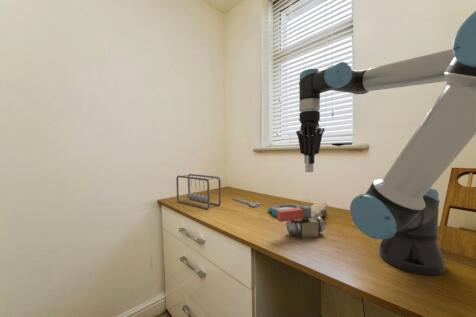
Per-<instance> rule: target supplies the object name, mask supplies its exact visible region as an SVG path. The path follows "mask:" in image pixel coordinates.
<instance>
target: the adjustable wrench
mask: <svg viewBox="0 0 476 317" xmlns="http://www.w3.org/2000/svg"><path fill="white" fill-rule="evenodd" d="M232 200H233V201H235V202H239V203H242V204H246V205H249V206H250V207H251V208H253V209H257V208H259V207H261V203H260V202H253V201H252V202H251V201H248V200H245V199H242V198H239V197H232Z"/></svg>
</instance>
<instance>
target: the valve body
mask: <svg viewBox="0 0 476 317" xmlns="http://www.w3.org/2000/svg"><path fill="white" fill-rule="evenodd" d="M285 226H286V230H287V233H288V234H289V235H290V236H296V235H297V236H298V237H299V238H300V239H302V240H305V239H312V238H319V233H323V232H324V231H325V228H326V227H325V226H326V225H325V221H324V219H323V218H322V217H320V216H317V217H314V218H310V219H298V220H290V221H286V225H285Z"/></svg>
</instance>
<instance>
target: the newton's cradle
mask: <svg viewBox="0 0 476 317" xmlns="http://www.w3.org/2000/svg"><path fill="white" fill-rule="evenodd" d="M175 178H176V180H175V181H176V201H177V203H180V204H182V205H183V204H184V205H186V204H188V205H187V206H190V205H192V207H194V206H196V207H195V208H198V207H199V208H198V209H202V208H203V210H206V209H208V210H209V209H211V208H212V207H216V206H217V207H220V205H221V204H222V197H221V196H222V194H221V193H222V191H221V189H222V185H221V178H220V177H219V176H214V175H206V174H205V175H204V174H203V175H202V174H194V173H189V174H184V175H177V176H176V177H175ZM179 178H180V179H181V178H183V179H187V180H186V181H187V188H188V190H187V191H188V192H187V195H186V198H187V199H185V200H180V199H179V198H180V197H179V196H180V193H179V190H180V189H179ZM213 179H217V180H218V203H216V202H211V201H210V199H211V198H210V181H209V180H213ZM191 180H195V181H198V187H199V191H198V190H197V187H195V190H196V191H197V194H196V191H193V192H192V191H191V190H193V189H194V188H193V187H191V186H193V181H191ZM201 181H202V182H203V184H205V182H206V185H207V187H206V189H207V190H206V189H205V185H203V186H202V188H203V190H206V191H207V192H204V193H201V195H200V193H199V192H200V191H202V188H201ZM194 184H195V186H197V183H196V182H195V183H194ZM203 194H205V195H203ZM189 200H191V201H193V202H195V201H196V202H199V203H203V204H204V203H205V204H207V207H206V206H202V205H198V204H194V203H191V202H186V201H189ZM212 204H213V206H212Z"/></svg>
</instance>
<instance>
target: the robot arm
mask: <svg viewBox="0 0 476 317" xmlns="http://www.w3.org/2000/svg"><path fill="white" fill-rule="evenodd" d="M442 82H443V83H444V82H446V85H445V87H444V88H443V90H442V91H441V93H440V95H439V96H438V97H437V99H436V100H435V101H434V103H433V105H432V106H431V108H430V109H429V110H428V111H427V113H426V115H425V116H424V118H423V119H422V120H421V122H420V124H419V125H418V127H417V128H416V130H415V132H414V133H413V134H412V135H411V137H410V139H409V140H408V142H407V143H406V145H405V146H404V148H403V149H402V151H401V152H400V153H399V155H398V157H397V158H396V159H395V161H394V162H393V163H392V165H391V167H390V169H389V170H388V171H387V173H386V174H385V176H384V177H380V178H376V179H375V180H373V182H372V183H371V185H370V186H369V188H368V189H367V190H366V192H365V193H362V194H358V195H356V196H355V197H354V198H353V199H352V200H351V202H350V205H349V214H350V215H351V219H352V222H353V224H354V225H355V227H356V228H357V229H358V230H359V231H360V232H361V233H362V234H364V235H365V236H367V237H369V238H370V239H371V238H372V239H373V240H381V243H380V244H379V247H378V248H379V249H378V250H379V252H378V253H379V256H380V258H381V259H382V260H384V261H385V262H387V264H389V265H391V266H393V267H395V268H398V269H400V270H403V271H406V272H409V273H413V274H417V275H423V276H441V275H443V274H444V273H445V270H446V262H445V259H444V257H443V253H442V251H441V249H440V246H439V243H438V228H439V227H438V226H439V206H440V205H439V204H440V203H441V202H440V198H439V192H438V191H437V190H436V189H435V188H432V187H433V186H434V185H435V183H436V182H437V181H438V180H439V178H440V177H441V176H442V175H443V174H444V173H445V171H446V170H447V169H448V168H449V166H450V165H451V164H452V163H453V161H454V160H456V158H457V157H458V156H459V155H460V154H461V152H462V151H463V150H464V149H465V147H466V146H467V145H468V144H469V143H470V141H471V140H472V139H473V138H474V137H475V135H476V10H475V11H474V12H472V13H471V14H469V16H467V18H466V19H465V20H464V21H463V23H462V24H461V26H459V28H458V30H457V31H456V33H455V36H454V37H453V41H452V48H451V49H447V50H443V51H437V52H434V53H428V54H426V55H422V56H421V55H420V56H417V57H413V58H409V59H403V60H399V61H395V62H390V63H388V64H384V65H378V66H375V67H374V66H373V67H371V68H365V69H362V70H354V69H352V68H351V66H350V65H348V63H347V62H344V61H340V62H337V63H334V64H331V65H329V66H328V67H325V68H323V69H321V70H320V69H318V68H308V69H304V70H303V71H301V72H300V74H299V81H298V84H299V87H298V88H299V103H298V104H299V107H298V109H299V110H298V111H299V112H300V113H299V122H300V129H299V130H296V131H295V132H296V136H297V139H298V144H299V151H300V154H302V155H303V156H304V166H305V173H314V164H315V155H319V153H320V149H321V143H322V137H323V134H324V132H325V128H324V127H323V128H322V127H321V126H320V123H319V122H320V121H321V119H320V118H321V113H320V110H321V105H320V104H321V102H320V101H321V94H323V93H326V92H329V91H335V92H341V93H348V94H354V95H364V94H367V93H369V92H372V91H373V92H374V91H380V90H382V91H383V90H387V89H398V88H405V87H412V86H419V85H426V84H433V83H434V84H436V83H442Z"/></svg>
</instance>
